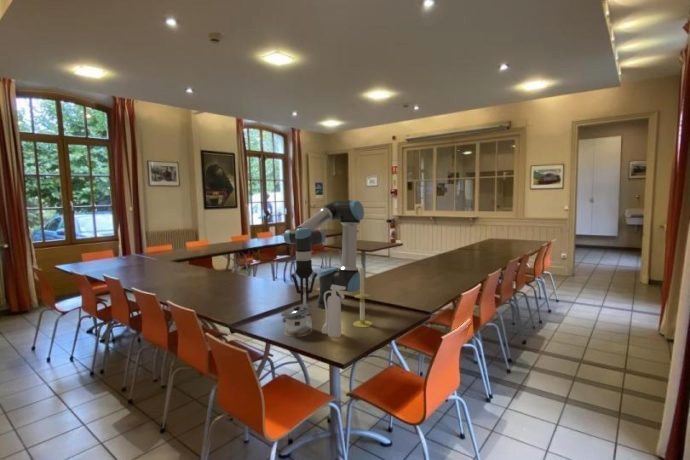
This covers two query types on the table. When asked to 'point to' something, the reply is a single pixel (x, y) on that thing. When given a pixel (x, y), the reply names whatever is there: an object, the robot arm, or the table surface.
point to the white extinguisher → (333, 311)
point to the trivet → (302, 335)
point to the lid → (296, 311)
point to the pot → (298, 325)
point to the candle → (362, 302)
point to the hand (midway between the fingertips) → (304, 306)
